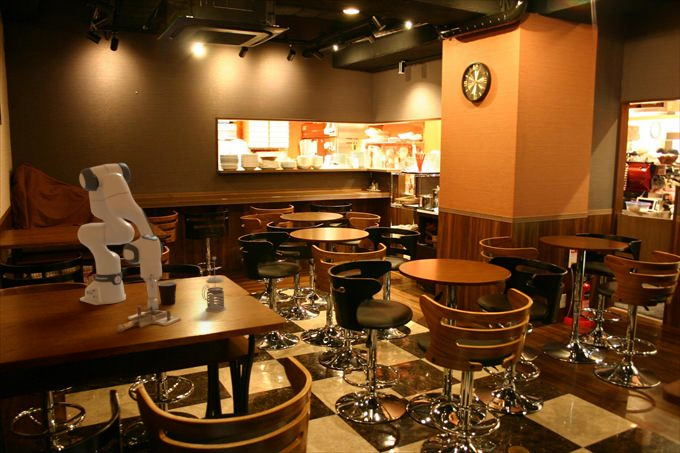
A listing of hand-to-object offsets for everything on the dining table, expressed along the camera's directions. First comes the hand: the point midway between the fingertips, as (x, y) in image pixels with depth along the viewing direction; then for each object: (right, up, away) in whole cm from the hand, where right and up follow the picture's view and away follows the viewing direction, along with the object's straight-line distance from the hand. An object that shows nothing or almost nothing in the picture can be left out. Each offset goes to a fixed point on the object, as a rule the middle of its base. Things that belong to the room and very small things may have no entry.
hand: (152, 303), depth 243 cm
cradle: (-1, -8, -1) cm, 8 cm away
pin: (-6, -9, -11) cm, 16 cm away
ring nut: (0, -3, 0) cm, 3 cm away
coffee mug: (-1, -4, +28) cm, 29 cm away
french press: (+23, -5, +17) cm, 29 cm away
